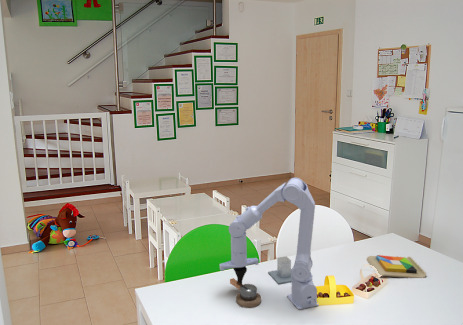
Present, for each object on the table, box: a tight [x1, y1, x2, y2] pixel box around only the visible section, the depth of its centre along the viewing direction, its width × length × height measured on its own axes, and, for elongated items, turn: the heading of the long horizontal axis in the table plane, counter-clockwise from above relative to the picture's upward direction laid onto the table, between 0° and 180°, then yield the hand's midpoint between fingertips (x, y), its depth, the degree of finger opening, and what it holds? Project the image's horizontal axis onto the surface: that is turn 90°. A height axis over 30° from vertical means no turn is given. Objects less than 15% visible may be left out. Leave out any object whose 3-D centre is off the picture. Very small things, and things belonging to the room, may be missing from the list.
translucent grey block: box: [276, 255, 292, 278], centre depth 165 cm, size 4×4×7 cm
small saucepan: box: [229, 277, 258, 301], centre depth 151 cm, size 14×6×3 cm, turn 35°
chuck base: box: [235, 292, 262, 309], centre depth 148 cm, size 9×9×2 cm
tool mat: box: [267, 268, 292, 285], centre depth 166 cm, size 10×10×1 cm
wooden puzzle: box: [366, 254, 427, 279], centre depth 171 cm, size 17×19×4 cm
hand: (239, 284), depth 155 cm, fingers closed, pressing on small saucepan
